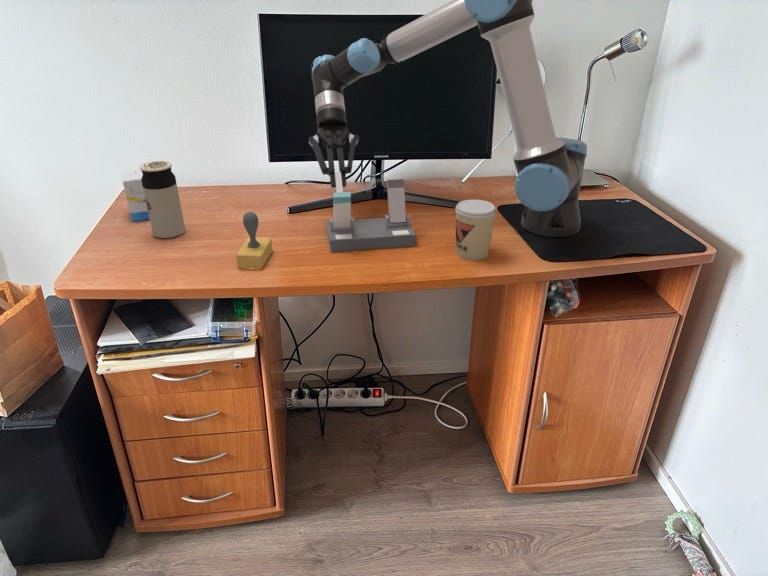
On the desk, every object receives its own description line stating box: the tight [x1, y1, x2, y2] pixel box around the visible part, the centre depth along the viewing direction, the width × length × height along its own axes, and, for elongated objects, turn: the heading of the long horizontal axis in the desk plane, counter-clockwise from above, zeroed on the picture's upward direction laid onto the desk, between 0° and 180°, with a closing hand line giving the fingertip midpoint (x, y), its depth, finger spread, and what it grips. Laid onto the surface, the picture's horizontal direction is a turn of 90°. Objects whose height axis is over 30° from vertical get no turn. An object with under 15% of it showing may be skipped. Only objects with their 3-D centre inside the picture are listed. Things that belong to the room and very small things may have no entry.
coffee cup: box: [454, 199, 497, 261], centre depth 133 cm, size 9×9×12 cm
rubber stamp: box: [235, 211, 273, 270], centre depth 130 cm, size 10×6×12 cm, turn 176°
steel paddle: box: [386, 178, 407, 224], centre depth 141 cm, size 2×4×11 cm, turn 99°
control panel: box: [326, 213, 417, 253], centre depth 141 cm, size 12×21×6 cm, turn 99°
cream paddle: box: [332, 191, 352, 228], centre depth 136 cm, size 2×4×11 cm, turn 100°
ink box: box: [122, 169, 150, 223], centre depth 154 cm, size 8×8×12 cm
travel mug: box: [139, 160, 186, 239], centre depth 142 cm, size 8×8×18 cm
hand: (340, 198), depth 138 cm, fingers closed
